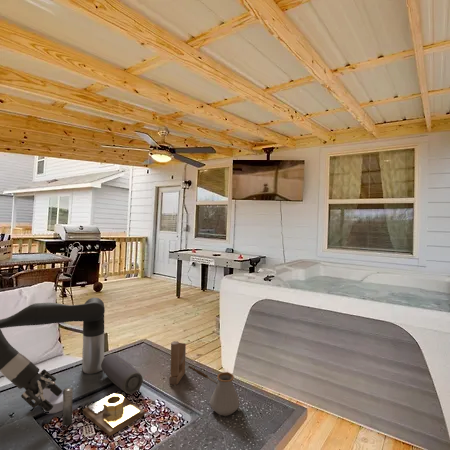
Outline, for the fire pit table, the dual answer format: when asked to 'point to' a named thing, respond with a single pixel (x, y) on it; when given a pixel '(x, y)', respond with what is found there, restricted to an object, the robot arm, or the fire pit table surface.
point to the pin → (67, 406)
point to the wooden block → (177, 362)
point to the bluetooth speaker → (122, 373)
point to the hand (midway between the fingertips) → (55, 401)
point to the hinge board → (100, 417)
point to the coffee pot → (222, 393)
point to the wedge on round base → (53, 400)
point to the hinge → (114, 410)
